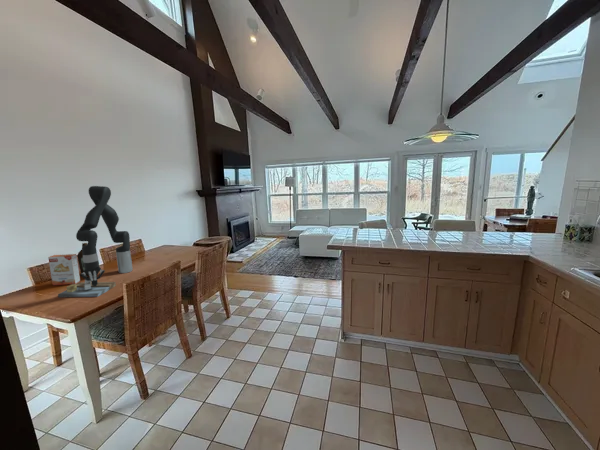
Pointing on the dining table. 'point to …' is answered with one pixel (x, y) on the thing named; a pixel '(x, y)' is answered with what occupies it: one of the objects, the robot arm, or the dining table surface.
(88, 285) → the lock bar
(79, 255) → the olive oil
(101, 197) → the robot arm
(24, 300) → the dining table surface
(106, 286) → the latched flap box
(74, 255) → the cracker box
